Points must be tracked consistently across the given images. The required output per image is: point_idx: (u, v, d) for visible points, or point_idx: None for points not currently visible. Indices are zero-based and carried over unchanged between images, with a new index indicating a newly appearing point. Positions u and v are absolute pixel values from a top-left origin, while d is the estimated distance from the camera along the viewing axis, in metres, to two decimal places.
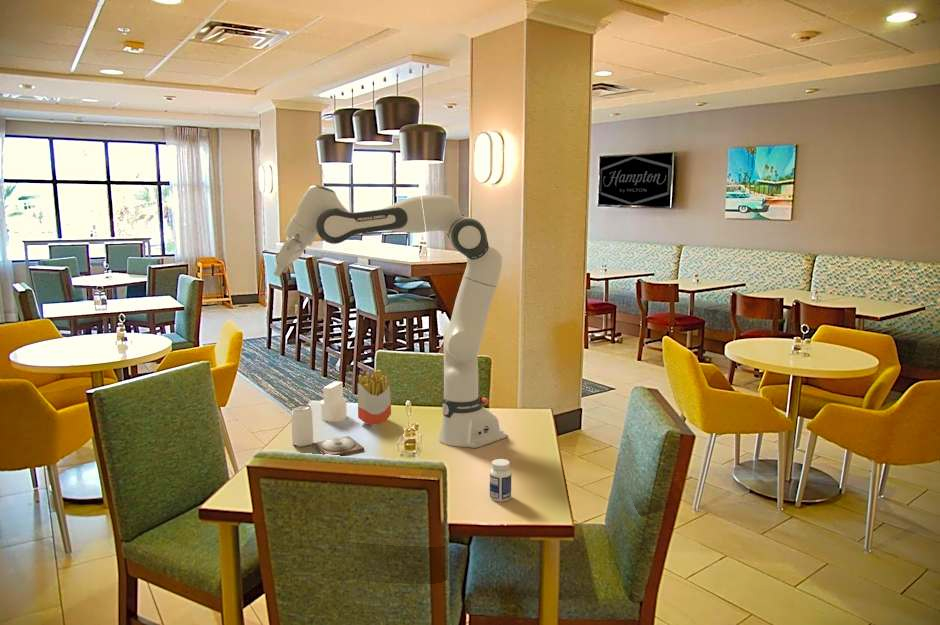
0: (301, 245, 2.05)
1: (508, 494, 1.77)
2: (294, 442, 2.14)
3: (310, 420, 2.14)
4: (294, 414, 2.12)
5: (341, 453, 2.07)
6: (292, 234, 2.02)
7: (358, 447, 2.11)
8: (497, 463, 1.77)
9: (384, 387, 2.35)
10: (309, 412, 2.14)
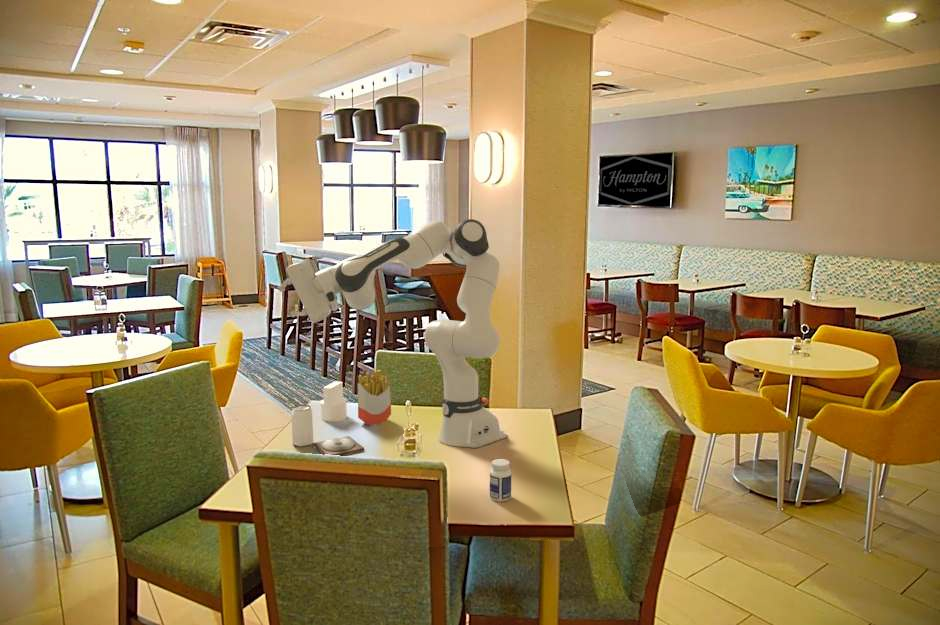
0: (313, 278, 2.15)
1: (508, 494, 1.77)
2: (294, 442, 2.14)
3: (310, 420, 2.14)
4: (294, 414, 2.12)
5: (341, 453, 2.07)
6: None
7: (358, 447, 2.11)
8: (497, 463, 1.77)
9: (384, 387, 2.35)
10: (309, 412, 2.14)
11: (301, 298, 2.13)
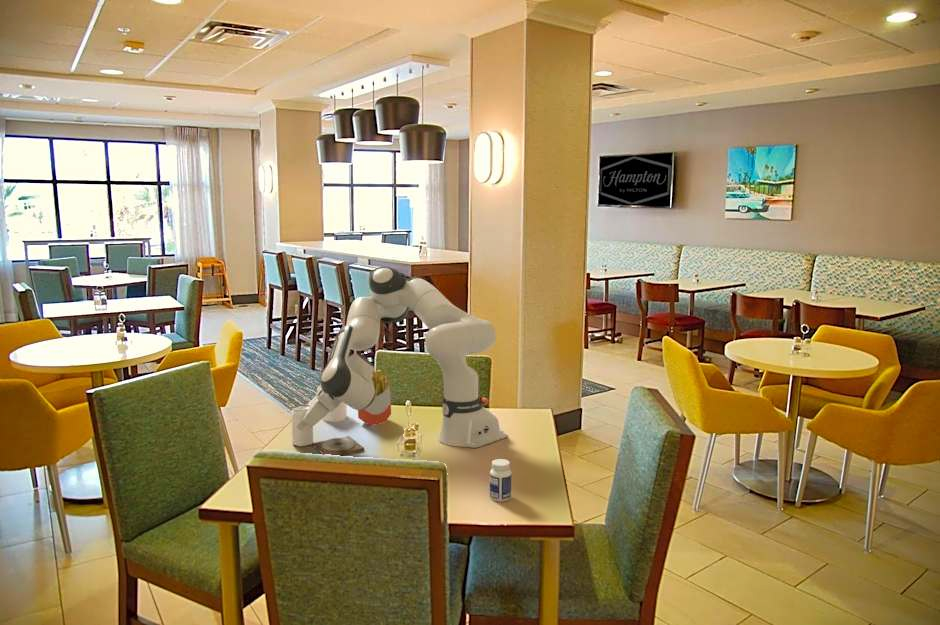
0: None
1: (508, 494, 1.77)
2: (294, 442, 2.14)
3: None
4: (294, 414, 2.12)
5: (341, 453, 2.07)
6: None
7: (358, 447, 2.11)
8: (497, 463, 1.77)
9: (384, 387, 2.35)
10: None
11: (306, 411, 2.13)
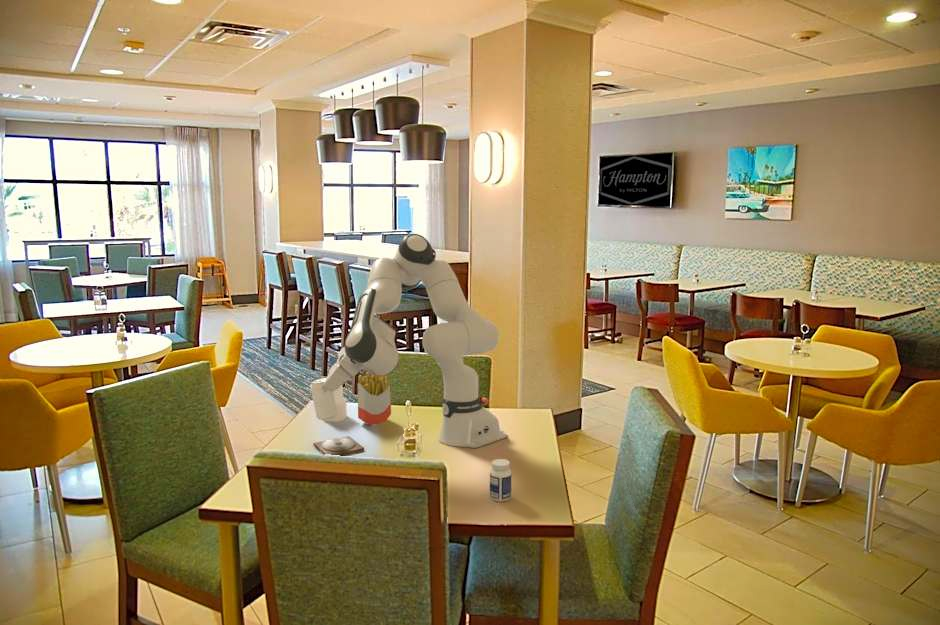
0: None
1: (508, 494, 1.77)
2: (319, 416, 2.10)
3: None
4: (314, 387, 2.08)
5: (341, 453, 2.07)
6: None
7: (358, 447, 2.11)
8: (497, 463, 1.77)
9: (384, 387, 2.35)
10: None
11: (327, 377, 2.09)
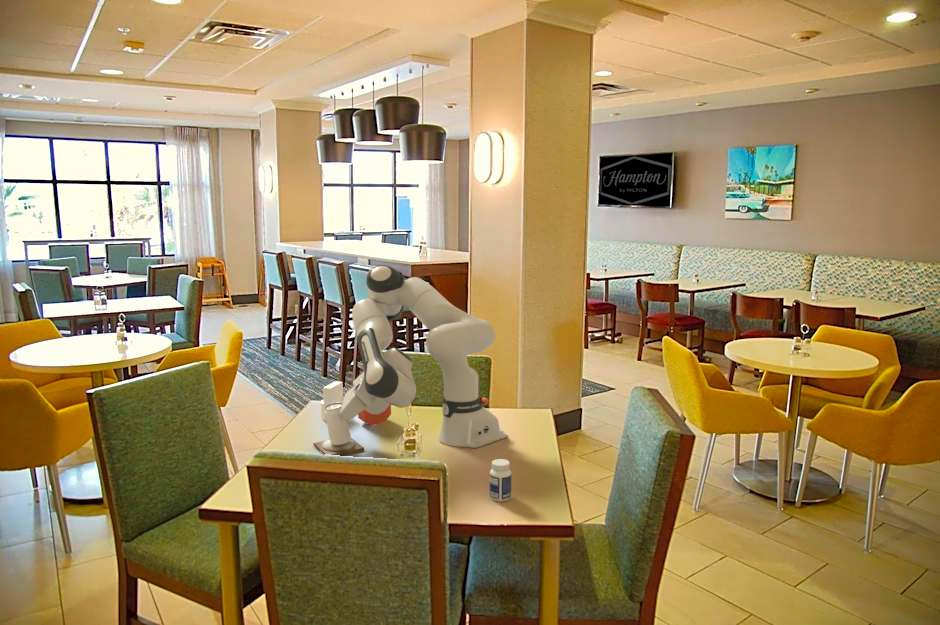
0: None
1: (508, 494, 1.77)
2: (333, 442, 2.10)
3: None
4: (328, 414, 2.08)
5: (341, 453, 2.07)
6: None
7: (358, 447, 2.11)
8: (497, 463, 1.77)
9: None
10: None
11: (342, 405, 2.09)
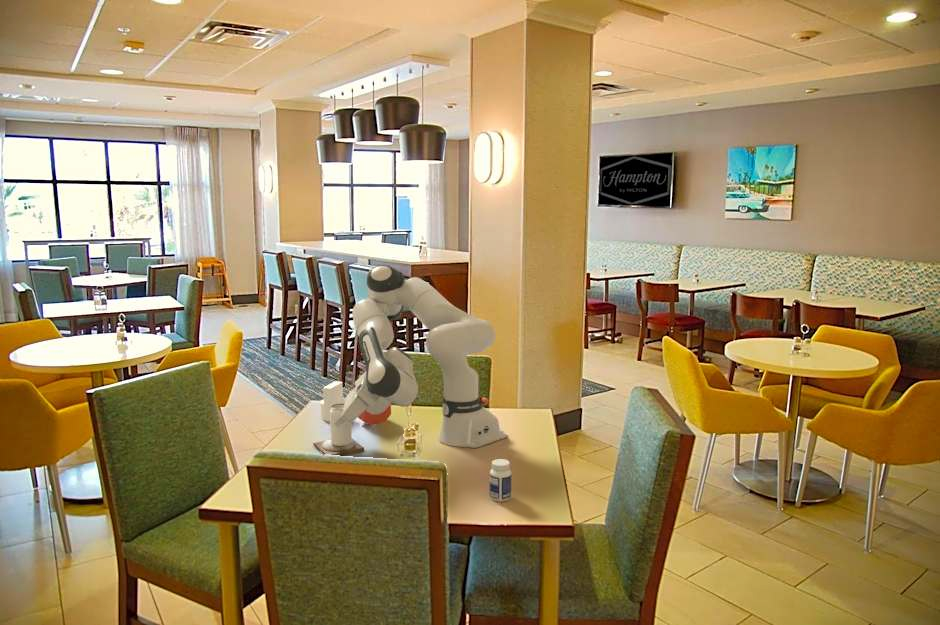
0: None
1: (508, 494, 1.77)
2: (334, 442, 2.10)
3: None
4: (334, 413, 2.08)
5: (341, 453, 2.07)
6: None
7: (358, 447, 2.11)
8: (497, 463, 1.77)
9: None
10: None
11: (344, 406, 2.09)
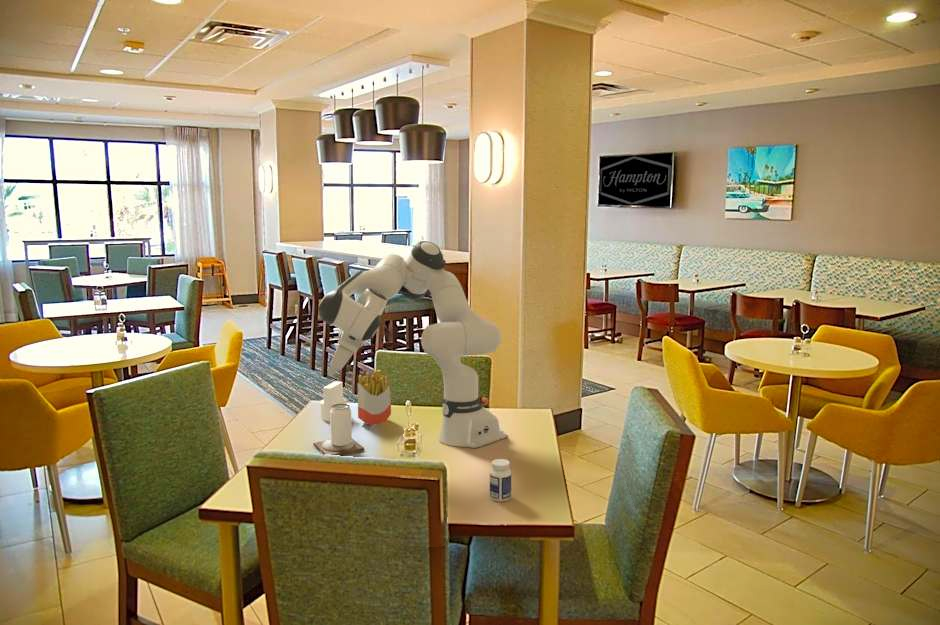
0: None
1: (508, 494, 1.77)
2: (334, 442, 2.10)
3: (350, 419, 2.11)
4: (334, 413, 2.08)
5: (341, 453, 2.07)
6: None
7: (358, 447, 2.11)
8: (497, 463, 1.77)
9: (384, 387, 2.35)
10: (349, 411, 2.10)
11: None
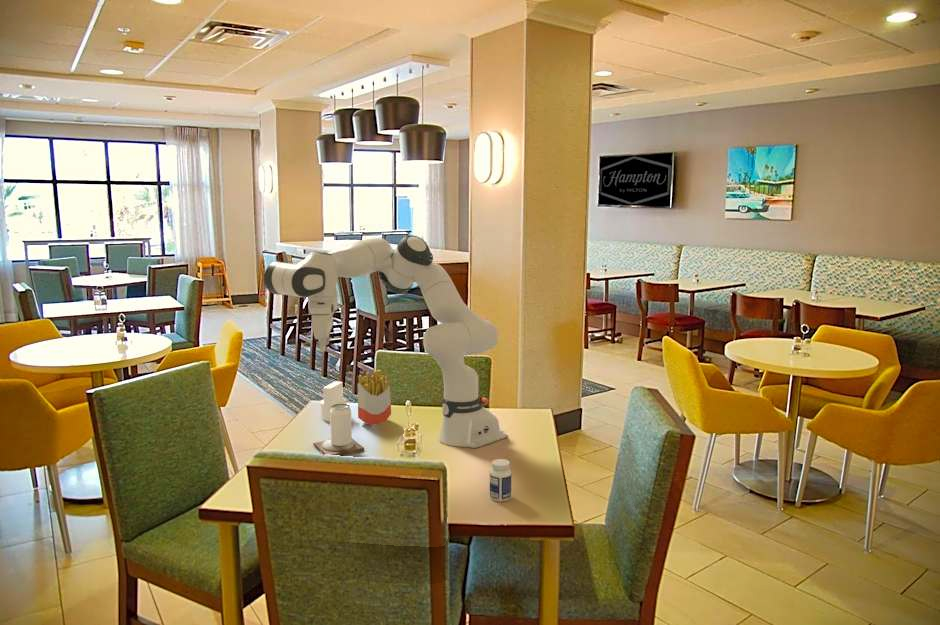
0: None
1: (508, 494, 1.77)
2: (334, 442, 2.10)
3: (350, 419, 2.11)
4: (334, 413, 2.08)
5: (341, 453, 2.07)
6: None
7: (358, 447, 2.11)
8: (497, 463, 1.77)
9: (384, 387, 2.35)
10: (349, 411, 2.10)
11: None
